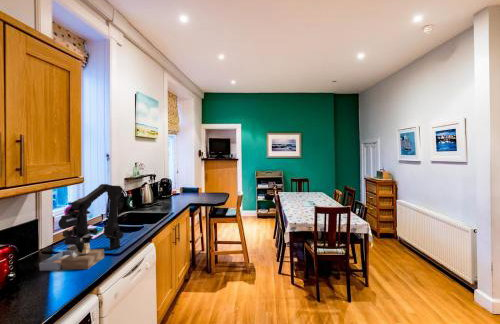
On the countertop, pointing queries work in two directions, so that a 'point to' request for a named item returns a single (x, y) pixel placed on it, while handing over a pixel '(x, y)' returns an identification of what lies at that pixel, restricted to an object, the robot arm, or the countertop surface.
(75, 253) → the scraper
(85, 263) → the brown square tray
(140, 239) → the countertop surface
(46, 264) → the box
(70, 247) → the cleaver
